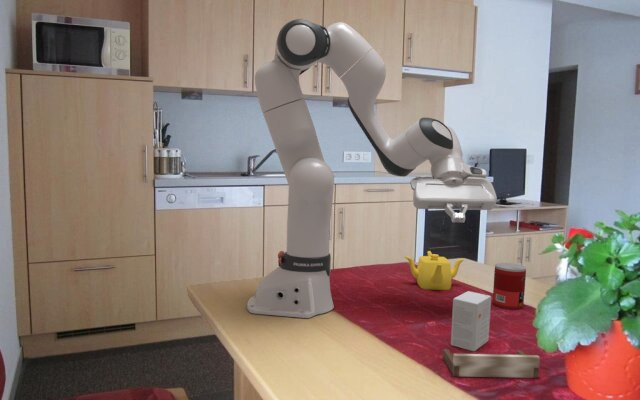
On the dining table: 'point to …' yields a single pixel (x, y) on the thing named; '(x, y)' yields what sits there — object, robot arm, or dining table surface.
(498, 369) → the bay
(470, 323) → the small box
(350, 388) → the dining table surface
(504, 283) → the canned food
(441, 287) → the teapot
